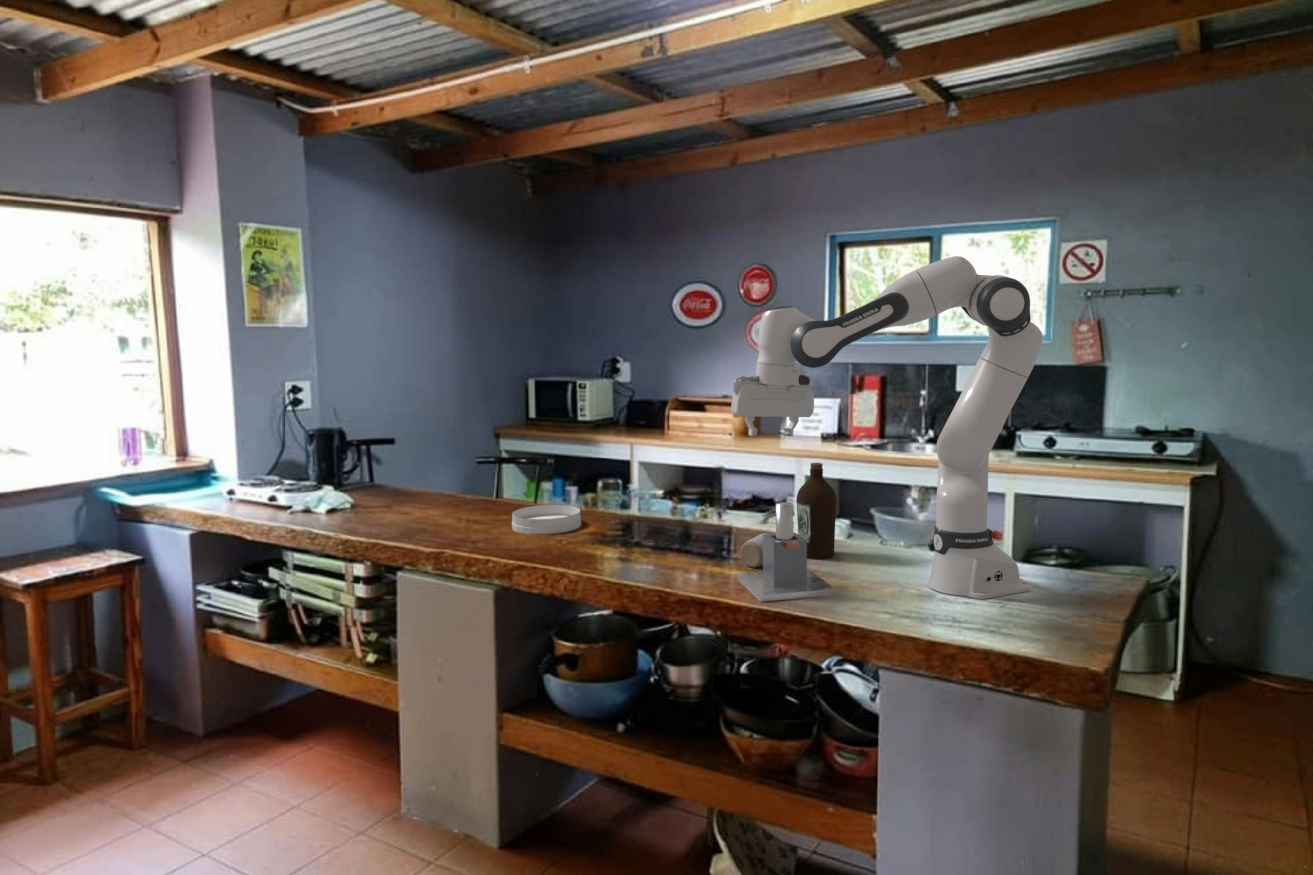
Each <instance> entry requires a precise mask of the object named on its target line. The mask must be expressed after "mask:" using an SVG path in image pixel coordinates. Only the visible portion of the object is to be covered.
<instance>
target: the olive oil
mask: <svg viewBox="0 0 1313 875" xmlns="http://www.w3.org/2000/svg"><path fill="white" fill-rule="evenodd" d="M809 475H810V476H809V478H808V479H807V480H806V481H805V482H804V484H802V486H801V487H800V488H799V490H798V491H797V494H796V515H797V516H796V518H797V534H798V535H799V536H801V537H802V538H804V539H805V540H807V559H812V560H824V559H830V558H832V557H834V556H835V544H836V543H835V541H836V540H835V535H836V518H837V503H838V502H837V501H838V499H837V494H836V492H835V490H834V488H833V487H832V486H831V485H830V484H829V483H828V481H826V480H825V478H824V469H823V463H821V462H811V463H810V469H809Z"/></svg>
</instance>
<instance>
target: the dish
mask: <svg viewBox="0 0 1313 875" xmlns="http://www.w3.org/2000/svg"><path fill="white" fill-rule="evenodd" d="M511 517H512V518H511V519H512V521H511V529H512V530H513V531H514V532H516V533H519V534H524V535H525V534H526V535H552V534H553V535H554V534H560V533H561V534H562V533H566V532H567V533H568V532H571V531H574V530H577V529H579V528H580V527H581V526H582V518H581V509H580V508H578V507H576V506H573V505H563V504H542V505H541V504H540V505H533V506H525V507H521V508H519V509H516V510H514V511H513V512H512V513H511Z"/></svg>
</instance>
